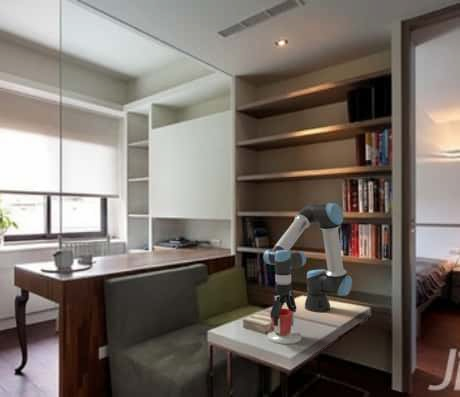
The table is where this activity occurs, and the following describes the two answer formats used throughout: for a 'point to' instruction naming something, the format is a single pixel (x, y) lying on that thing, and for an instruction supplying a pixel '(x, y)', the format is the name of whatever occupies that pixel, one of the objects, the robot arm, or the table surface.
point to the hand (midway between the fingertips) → (284, 328)
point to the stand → (259, 323)
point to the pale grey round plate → (285, 337)
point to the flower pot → (284, 321)
